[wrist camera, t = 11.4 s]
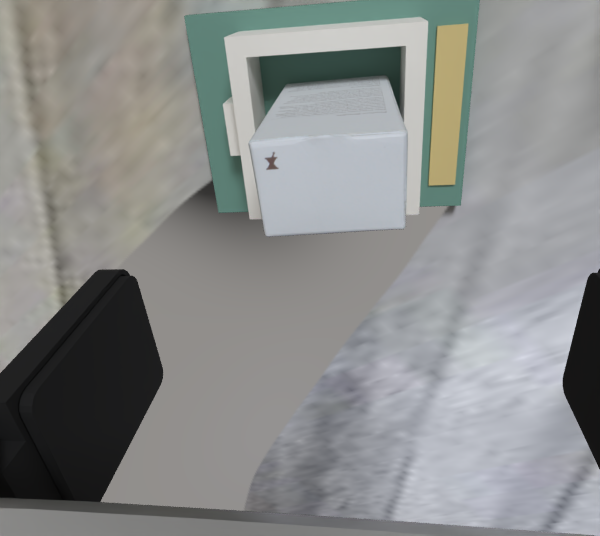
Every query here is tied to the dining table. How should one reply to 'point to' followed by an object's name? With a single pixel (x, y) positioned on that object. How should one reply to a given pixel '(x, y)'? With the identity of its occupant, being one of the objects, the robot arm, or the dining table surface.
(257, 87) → the board
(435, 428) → the dining table surface
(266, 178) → the skincare box
